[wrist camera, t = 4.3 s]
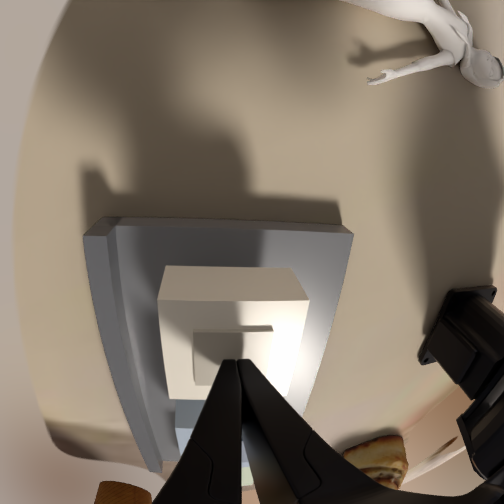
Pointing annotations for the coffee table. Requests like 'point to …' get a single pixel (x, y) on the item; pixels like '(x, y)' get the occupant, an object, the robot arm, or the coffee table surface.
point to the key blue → (192, 423)
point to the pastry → (381, 460)
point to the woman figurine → (439, 41)
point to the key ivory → (228, 324)
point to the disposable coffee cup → (121, 494)
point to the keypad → (198, 254)
